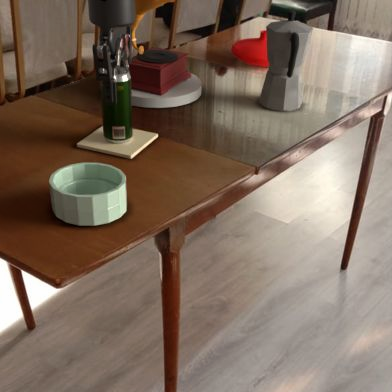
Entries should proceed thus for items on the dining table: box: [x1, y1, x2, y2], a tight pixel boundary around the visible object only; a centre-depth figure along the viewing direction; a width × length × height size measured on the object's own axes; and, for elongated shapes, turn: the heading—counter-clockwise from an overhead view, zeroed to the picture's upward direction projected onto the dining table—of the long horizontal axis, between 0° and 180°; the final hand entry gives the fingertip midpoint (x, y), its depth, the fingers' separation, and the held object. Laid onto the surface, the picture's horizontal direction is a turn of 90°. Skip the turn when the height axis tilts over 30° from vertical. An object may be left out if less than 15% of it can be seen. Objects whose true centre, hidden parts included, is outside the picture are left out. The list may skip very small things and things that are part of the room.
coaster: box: [76, 125, 159, 160], centre depth 116 cm, size 11×11×1 cm
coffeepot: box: [258, 9, 314, 112], centre depth 127 cm, size 15×9×18 cm, turn 2°
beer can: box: [99, 67, 134, 144], centre depth 111 cm, size 5×5×12 cm
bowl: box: [48, 162, 128, 227], centre depth 95 cm, size 11×11×5 cm
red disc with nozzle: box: [230, 29, 269, 68], centre depth 152 cm, size 16×16×7 cm
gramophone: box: [128, 0, 202, 109], centre depth 129 cm, size 20×20×25 cm
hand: (116, 97), depth 110 cm, fingers closed on beer can, 5 cm apart
